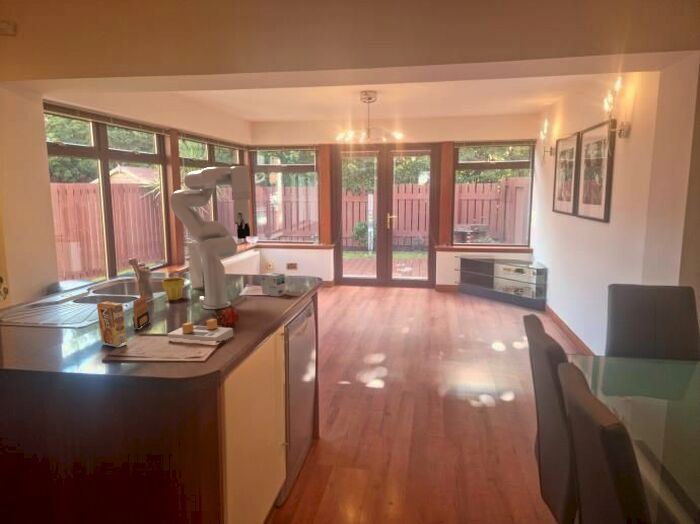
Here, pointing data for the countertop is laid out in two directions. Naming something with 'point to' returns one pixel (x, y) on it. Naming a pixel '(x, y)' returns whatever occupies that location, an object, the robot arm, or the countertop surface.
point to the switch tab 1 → (187, 327)
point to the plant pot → (173, 288)
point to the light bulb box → (273, 284)
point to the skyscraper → (195, 265)
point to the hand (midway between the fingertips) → (244, 237)
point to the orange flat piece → (140, 312)
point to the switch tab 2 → (211, 323)
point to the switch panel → (203, 333)
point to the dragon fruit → (227, 317)
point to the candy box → (111, 323)
